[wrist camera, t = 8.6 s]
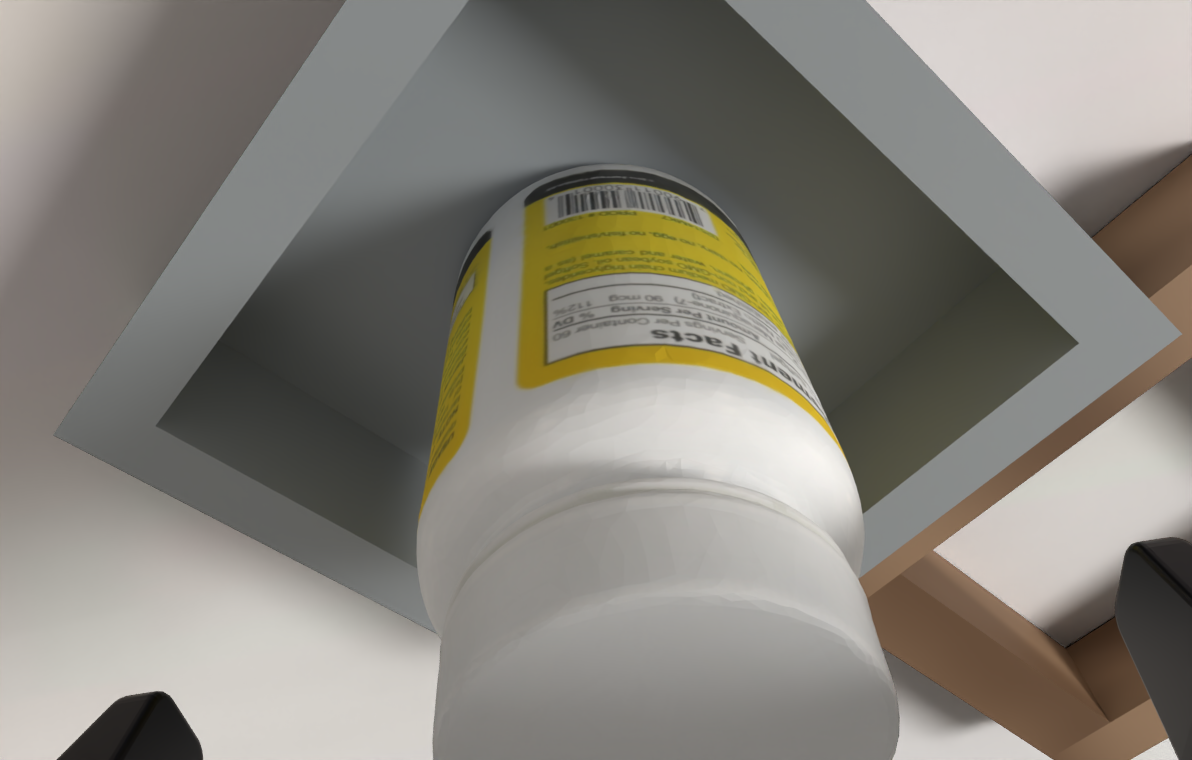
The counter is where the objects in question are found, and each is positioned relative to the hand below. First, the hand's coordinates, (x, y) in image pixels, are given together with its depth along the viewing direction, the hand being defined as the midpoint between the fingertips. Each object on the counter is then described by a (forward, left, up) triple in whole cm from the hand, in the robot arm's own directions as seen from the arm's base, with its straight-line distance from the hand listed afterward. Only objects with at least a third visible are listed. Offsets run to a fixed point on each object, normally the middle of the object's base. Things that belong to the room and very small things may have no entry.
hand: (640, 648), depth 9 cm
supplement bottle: (0, 0, -7) cm, 7 cm away
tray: (0, 0, -8) cm, 8 cm away
